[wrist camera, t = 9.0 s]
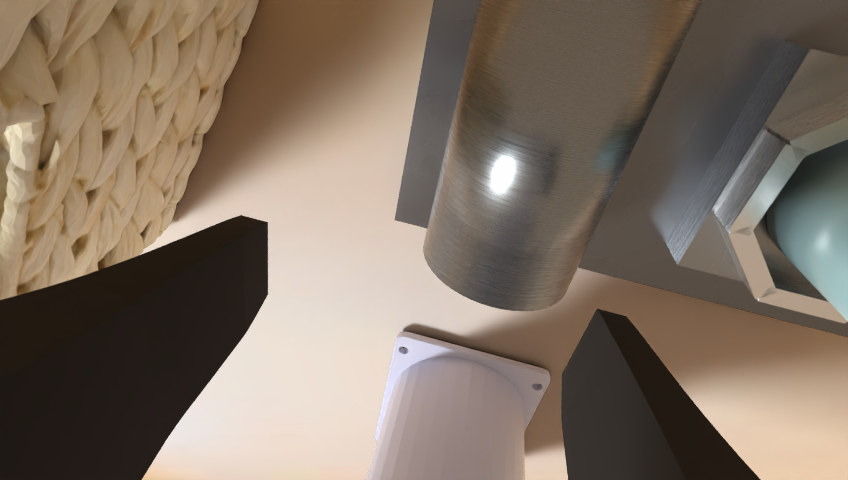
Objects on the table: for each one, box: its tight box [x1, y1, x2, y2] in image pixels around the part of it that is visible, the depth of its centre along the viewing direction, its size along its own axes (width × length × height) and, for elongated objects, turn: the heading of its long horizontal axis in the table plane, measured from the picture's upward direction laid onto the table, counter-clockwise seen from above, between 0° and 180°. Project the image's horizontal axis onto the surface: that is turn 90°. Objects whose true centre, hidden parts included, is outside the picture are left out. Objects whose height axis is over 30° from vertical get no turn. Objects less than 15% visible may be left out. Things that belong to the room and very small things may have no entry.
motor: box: [395, 0, 848, 337], centre depth 13 cm, size 11×18×6 cm, turn 79°
